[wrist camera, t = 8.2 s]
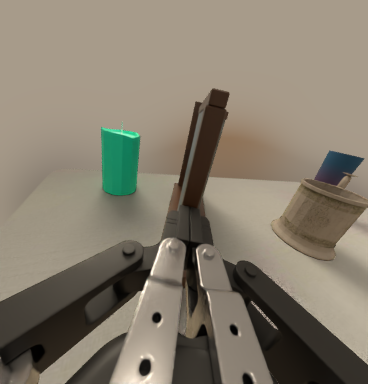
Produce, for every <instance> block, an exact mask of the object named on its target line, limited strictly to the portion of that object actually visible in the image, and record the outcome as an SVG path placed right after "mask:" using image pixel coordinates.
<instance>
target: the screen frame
mask: <svg viewBox="0 0 368 384" xmlns="http://www.w3.org/2000/svg"><path fill="white" fill-rule="evenodd" d="M201 104H202V103H200V102H195V107H194V112H193V116H192V121H191V126H190V131H189V136H188V140H187V145H186V150H185V155H184V160H183V164H182V169H181V174H180V178H179V183H175V184H174V188H173V192H172V197H171V201H170V205H169V209H168V213H169V212H170V211H171V210H175V211H177V210H178V204H179V200H180V196H181V191H182V187H183V182H184V178H185V173H186V169H187V164H188V160H189V156H190V151H191V147H192V142H193V138H194V133H195V129H196V125H197V120H198V116H199V113H198V112H199V107H200V106H201ZM227 116H228V112H226V114H225V118H224V121H223V125H222V128H221V132H220V135H219V138H218V142H217V145H216V149H215V152H214V155H213V159H212V162H211V166H212V164H213V160H214V157H215V153H216V150H217V147H218V143H219V140H220V136H221V133H222V130H223V127H224V123H225V120H226V119H227ZM211 166H210V169H209V172H208V176H207V179H206V183H205V186H204V189H203V193H202V196H201V200H200V203H199V206H198V208H199V209H200V214H201V216H205V211H204V204H203V198H202V197H203V194H204V190H205V187H206V184H207V180H208V177H209V173H210V170H211ZM168 213H167V216H168ZM166 220H167V217H166ZM165 224H166V221H165ZM164 228H165V225H164ZM163 232H164V229H163ZM162 237H163V233H162ZM162 237H161V240H162ZM185 282H186V270H183V277H182V285H183V287H184V288H185Z"/></svg>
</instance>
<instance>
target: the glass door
mask: <svg viewBox="0 0 368 384" xmlns="http://www.w3.org/2000/svg"><path fill="white" fill-rule="evenodd" d="M228 97H229V92H226V91H222V90H218V89H214V88H213V89H212V90H211V91H210V93H209V94H208V96H207V97H206V98H205V100H204V101H203V103H202V104H201V106H200V107H199V112H198V113H199V116H198V120H197V125H196V129H195V133H194V138H193V142H192V147H191V151H190V156H189V160H188V164H187V169H186V173H185V178H184V182H183V187H182V191H181V196H180V200H179V204H178V210H177V211H179V206H180V205H184V206H189V207H194V208H198V206H199V203H200V200H201V196H202V193H203V189H204V186H205V183H206V179H207V176H208V172H209V169H210V166H211V162H212V159H213V155H214V152H215V149H216V145H217V142H218V138H219V135H220V132H221V128H222V125H223V121H224V118H225V114H226V110H225V107H226V105H227V101H228Z"/></svg>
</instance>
